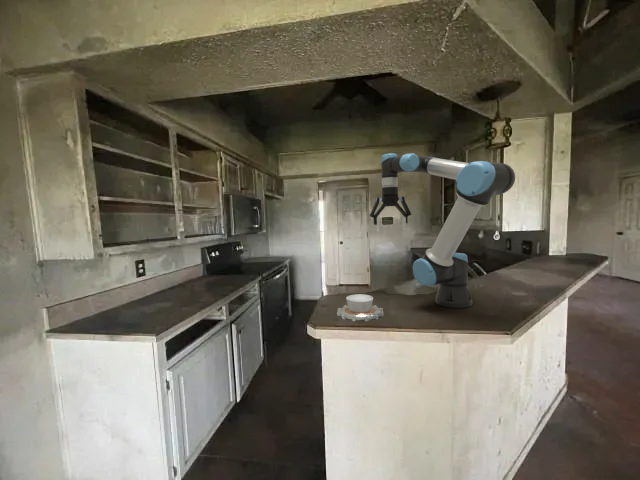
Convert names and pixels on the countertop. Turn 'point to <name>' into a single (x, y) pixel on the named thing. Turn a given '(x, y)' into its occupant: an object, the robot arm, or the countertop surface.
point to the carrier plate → (360, 314)
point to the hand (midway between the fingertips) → (390, 231)
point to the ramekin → (359, 303)
